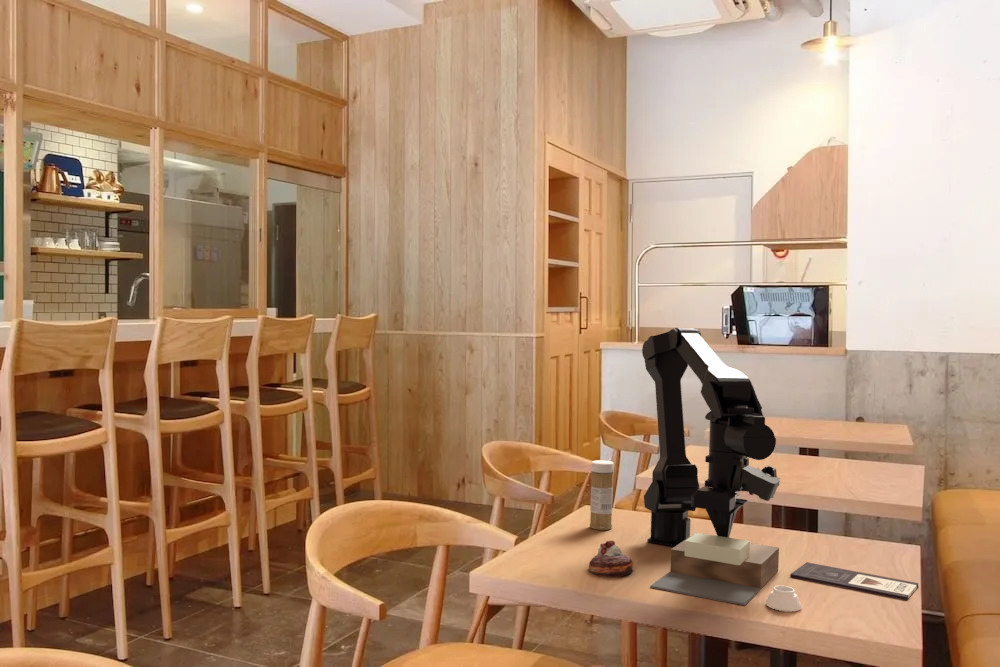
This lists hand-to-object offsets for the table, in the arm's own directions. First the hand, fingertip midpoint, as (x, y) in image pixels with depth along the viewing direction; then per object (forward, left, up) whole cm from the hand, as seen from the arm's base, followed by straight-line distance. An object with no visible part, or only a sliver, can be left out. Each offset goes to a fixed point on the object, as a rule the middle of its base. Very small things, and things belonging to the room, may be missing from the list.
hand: (723, 542), depth 148 cm
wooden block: (0, +2, -5) cm, 6 cm away
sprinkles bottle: (-30, +17, -6) cm, 34 cm away
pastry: (-16, -9, -6) cm, 20 cm away
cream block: (0, -4, -1) cm, 4 cm away
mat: (0, -9, -5) cm, 11 cm away
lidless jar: (+12, -11, -6) cm, 17 cm away
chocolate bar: (+19, +9, -6) cm, 22 cm away
